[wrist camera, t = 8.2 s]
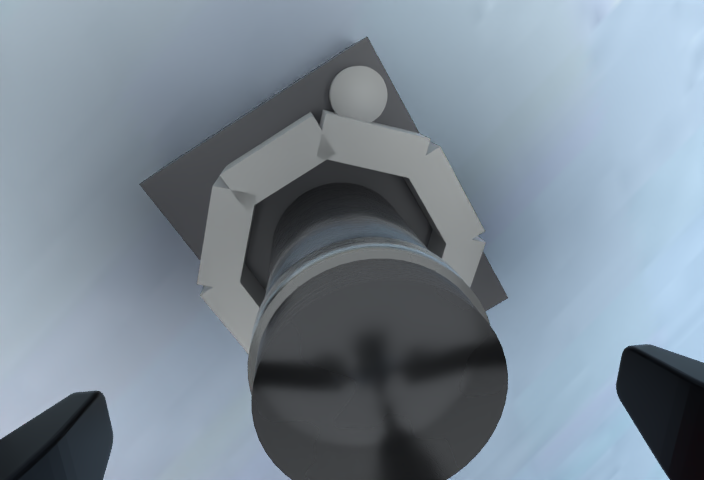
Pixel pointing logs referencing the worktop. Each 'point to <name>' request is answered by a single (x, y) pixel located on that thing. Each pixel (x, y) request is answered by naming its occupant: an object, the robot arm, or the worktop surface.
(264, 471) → the worktop surface
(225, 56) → the worktop surface
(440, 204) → the camera body mount
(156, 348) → the worktop surface
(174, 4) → the worktop surface
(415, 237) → the lens
